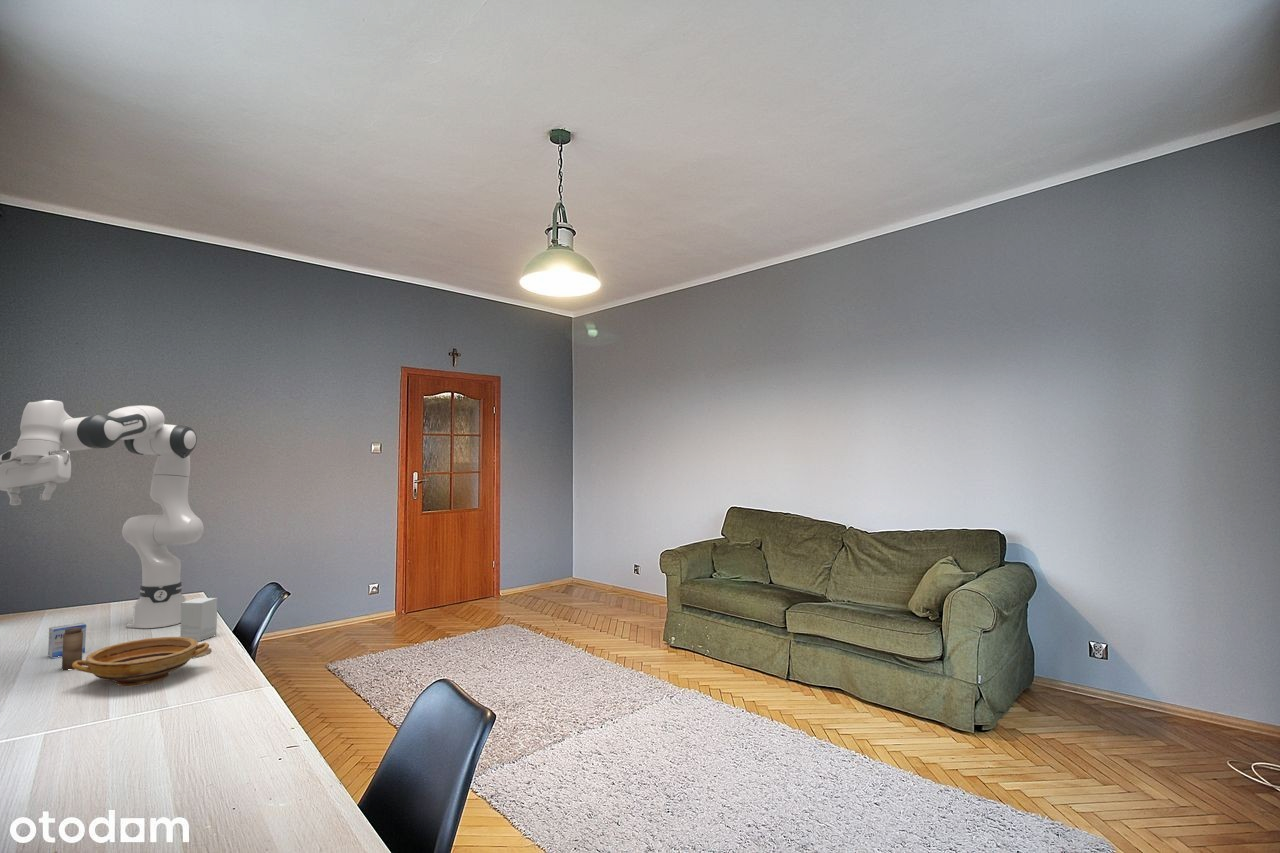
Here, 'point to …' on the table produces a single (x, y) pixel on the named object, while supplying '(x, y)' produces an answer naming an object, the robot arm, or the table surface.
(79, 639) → the pepper mill
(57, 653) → the medicine box
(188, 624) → the supplement box
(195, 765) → the table surface
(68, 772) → the table surface
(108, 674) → the ceramic bowl
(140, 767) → the table surface
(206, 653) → the cork coaster
